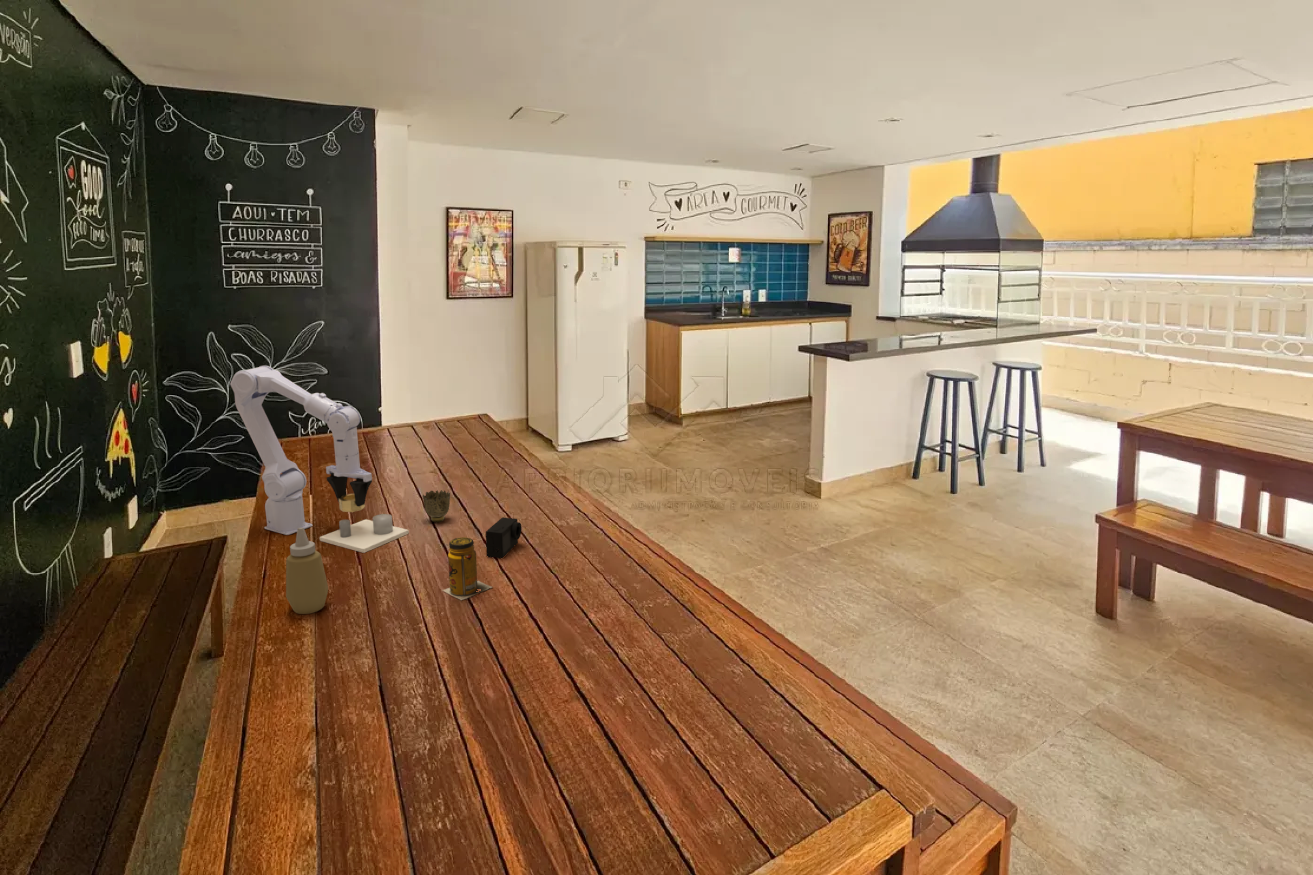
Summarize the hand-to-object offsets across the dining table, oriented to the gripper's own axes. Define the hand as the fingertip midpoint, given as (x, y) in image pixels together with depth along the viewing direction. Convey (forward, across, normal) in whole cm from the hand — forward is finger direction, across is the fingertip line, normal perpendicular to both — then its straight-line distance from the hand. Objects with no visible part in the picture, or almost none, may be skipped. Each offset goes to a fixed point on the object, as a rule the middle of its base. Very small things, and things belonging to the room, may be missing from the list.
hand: (351, 503), depth 190 cm
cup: (+9, +13, +18) cm, 24 cm away
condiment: (+9, +49, -12) cm, 51 cm away
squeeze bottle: (+9, +25, -34) cm, 44 cm away
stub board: (+8, +5, -1) cm, 10 cm away
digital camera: (+9, +42, +10) cm, 44 cm away
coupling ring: (+2, 0, 0) cm, 2 cm away
